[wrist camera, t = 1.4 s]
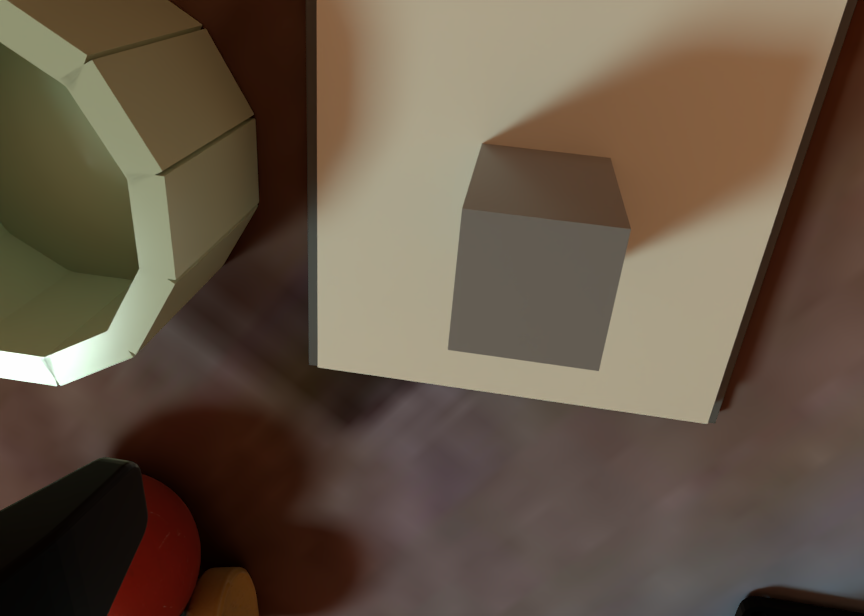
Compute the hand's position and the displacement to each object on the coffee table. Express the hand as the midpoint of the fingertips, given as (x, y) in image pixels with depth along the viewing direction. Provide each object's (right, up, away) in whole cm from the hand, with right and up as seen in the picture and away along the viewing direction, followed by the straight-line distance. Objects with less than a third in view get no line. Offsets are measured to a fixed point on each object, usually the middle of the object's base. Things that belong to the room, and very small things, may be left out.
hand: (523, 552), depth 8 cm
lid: (+2, +5, +10) cm, 12 cm away
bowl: (-10, +7, +11) cm, 17 cm away
